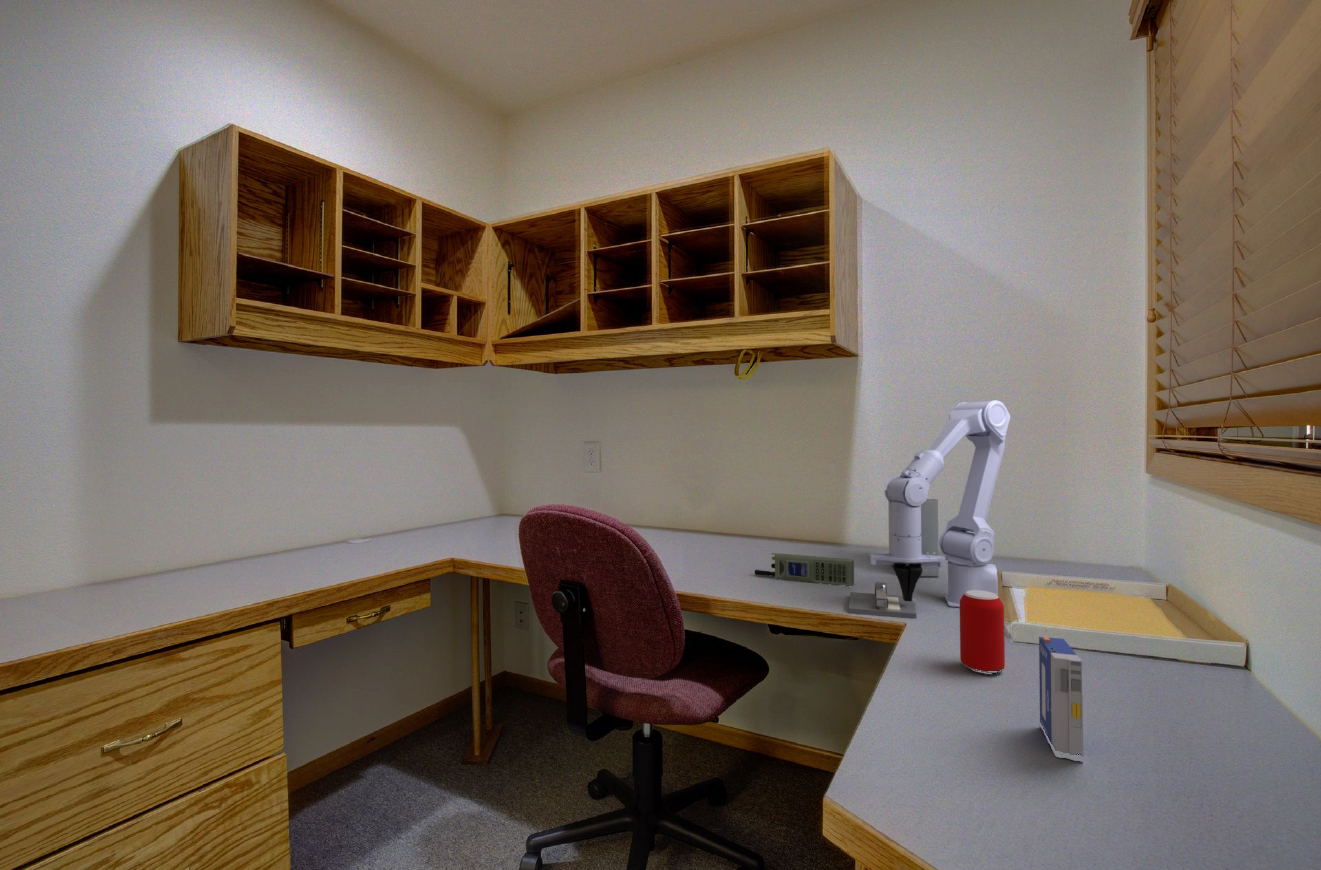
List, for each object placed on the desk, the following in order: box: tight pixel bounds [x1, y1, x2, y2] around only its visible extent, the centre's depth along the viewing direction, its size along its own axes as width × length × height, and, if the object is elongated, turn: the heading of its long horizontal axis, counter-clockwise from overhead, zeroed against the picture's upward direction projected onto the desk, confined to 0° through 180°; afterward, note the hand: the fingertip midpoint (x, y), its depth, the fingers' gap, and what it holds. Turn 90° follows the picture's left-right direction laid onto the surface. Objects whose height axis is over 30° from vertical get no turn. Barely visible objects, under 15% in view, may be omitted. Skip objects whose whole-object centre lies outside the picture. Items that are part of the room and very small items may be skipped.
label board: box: [848, 591, 918, 619], centre depth 128 cm, size 13×13×1 cm
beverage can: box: [959, 590, 1006, 674], centre depth 95 cm, size 6×6×12 cm
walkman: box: [1038, 636, 1084, 758], centre depth 72 cm, size 8×3×12 cm, turn 159°
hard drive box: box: [887, 496, 940, 578], centre depth 160 cm, size 16×8×20 cm, turn 179°
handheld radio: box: [754, 552, 855, 587], centre depth 151 cm, size 7×3×25 cm
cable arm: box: [874, 581, 888, 608], centre depth 128 cm, size 3×12×2 cm, turn 161°
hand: (907, 599), depth 125 cm, fingers closed
